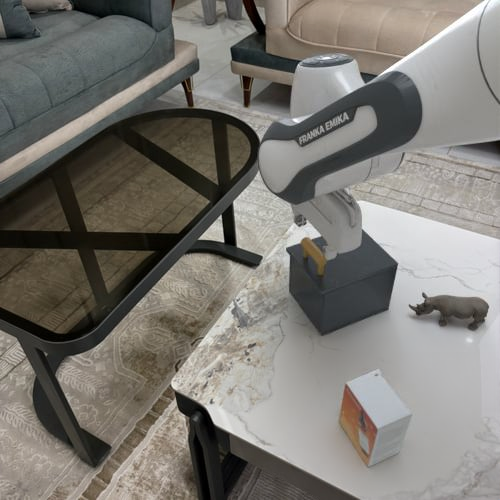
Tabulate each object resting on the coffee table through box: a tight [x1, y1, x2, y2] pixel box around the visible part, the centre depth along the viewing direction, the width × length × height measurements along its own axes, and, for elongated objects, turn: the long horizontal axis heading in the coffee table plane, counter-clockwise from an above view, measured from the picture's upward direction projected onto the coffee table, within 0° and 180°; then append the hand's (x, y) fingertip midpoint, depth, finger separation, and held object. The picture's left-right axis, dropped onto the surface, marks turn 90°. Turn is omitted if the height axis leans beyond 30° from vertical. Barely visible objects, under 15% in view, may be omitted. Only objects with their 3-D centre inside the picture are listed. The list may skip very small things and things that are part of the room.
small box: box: [338, 368, 413, 468], centre depth 70 cm, size 8×6×10 cm
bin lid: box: [285, 228, 399, 295], centre depth 86 cm, size 15×12×5 cm
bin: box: [288, 256, 398, 337], centre depth 92 cm, size 14×12×11 cm
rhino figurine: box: [408, 291, 490, 331], centre depth 88 cm, size 4×14×6 cm, turn 79°
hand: (314, 239), depth 82 cm, fingers open, 8 cm apart
